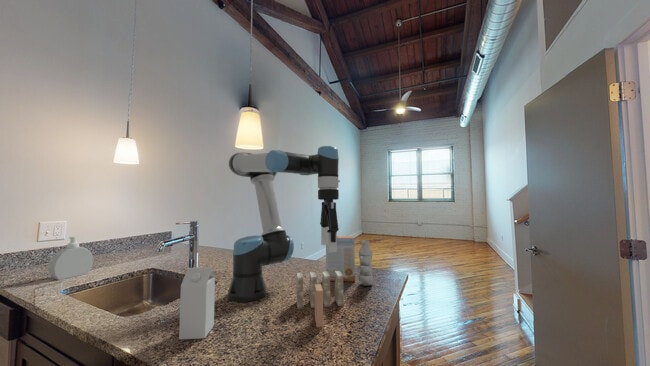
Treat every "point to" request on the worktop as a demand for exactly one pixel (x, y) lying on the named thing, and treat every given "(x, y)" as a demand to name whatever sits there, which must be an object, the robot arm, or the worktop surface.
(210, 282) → the milk carton
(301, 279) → the domino
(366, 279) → the plastic bottle
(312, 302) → the domino
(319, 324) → the domino end
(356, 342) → the worktop surface
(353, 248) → the cracker box
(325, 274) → the domino
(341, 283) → the domino
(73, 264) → the soap bottle
